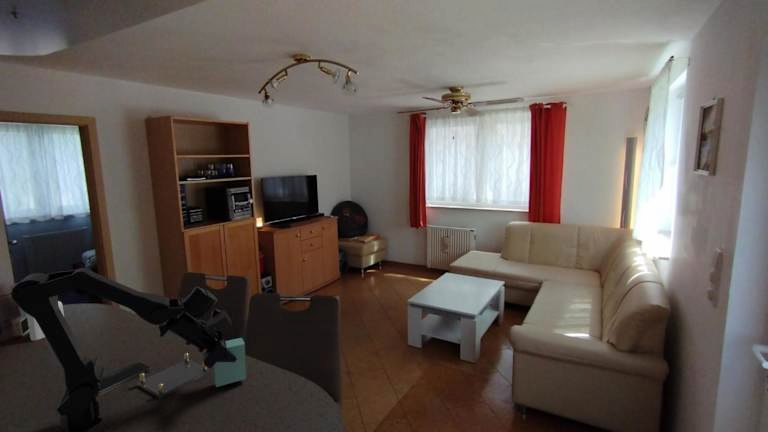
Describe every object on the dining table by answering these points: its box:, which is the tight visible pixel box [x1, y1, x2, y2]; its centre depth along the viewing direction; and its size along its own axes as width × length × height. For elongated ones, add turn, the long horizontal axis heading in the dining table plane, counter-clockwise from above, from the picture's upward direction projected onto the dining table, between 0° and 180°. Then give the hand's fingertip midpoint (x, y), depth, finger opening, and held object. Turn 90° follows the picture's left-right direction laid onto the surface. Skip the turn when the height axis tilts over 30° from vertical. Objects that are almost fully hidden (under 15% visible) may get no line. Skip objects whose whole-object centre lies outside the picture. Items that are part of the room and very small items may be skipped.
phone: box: [95, 361, 152, 397], centre depth 108 cm, size 8×1×15 cm
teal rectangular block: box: [213, 337, 247, 388], centre depth 105 cm, size 8×4×11 cm, turn 122°
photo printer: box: [26, 300, 65, 342], centre depth 134 cm, size 10×4×12 cm, turn 160°
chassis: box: [137, 352, 211, 399], centre depth 108 cm, size 15×12×4 cm
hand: (234, 356), depth 106 cm, fingers closed on teal rectangular block, 4 cm apart
